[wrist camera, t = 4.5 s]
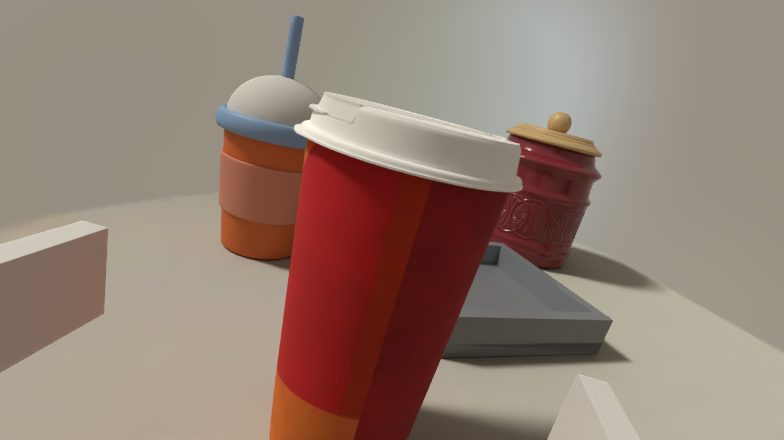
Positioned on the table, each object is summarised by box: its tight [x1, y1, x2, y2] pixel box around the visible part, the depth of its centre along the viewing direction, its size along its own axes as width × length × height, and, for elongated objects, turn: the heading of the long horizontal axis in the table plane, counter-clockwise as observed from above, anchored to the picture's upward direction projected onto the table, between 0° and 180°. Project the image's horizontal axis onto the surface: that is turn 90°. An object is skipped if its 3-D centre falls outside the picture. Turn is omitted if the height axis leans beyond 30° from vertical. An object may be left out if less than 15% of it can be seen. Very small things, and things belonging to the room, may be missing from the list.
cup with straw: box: [216, 15, 321, 260], centre depth 31 cm, size 9×9×18 cm
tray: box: [441, 242, 613, 358], centre depth 33 cm, size 14×14×3 cm
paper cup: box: [270, 92, 523, 440], centre depth 15 cm, size 8×8×14 cm
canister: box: [490, 112, 602, 268], centre depth 50 cm, size 13×13×18 cm
